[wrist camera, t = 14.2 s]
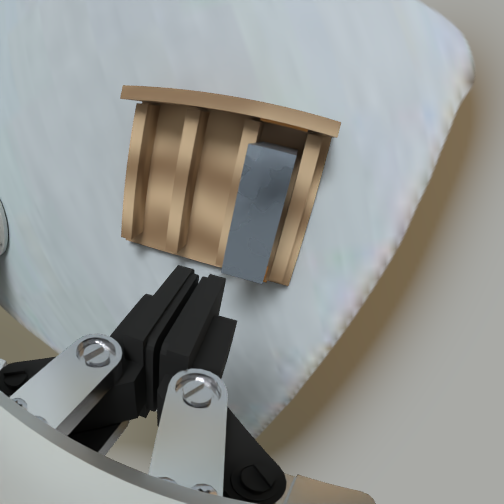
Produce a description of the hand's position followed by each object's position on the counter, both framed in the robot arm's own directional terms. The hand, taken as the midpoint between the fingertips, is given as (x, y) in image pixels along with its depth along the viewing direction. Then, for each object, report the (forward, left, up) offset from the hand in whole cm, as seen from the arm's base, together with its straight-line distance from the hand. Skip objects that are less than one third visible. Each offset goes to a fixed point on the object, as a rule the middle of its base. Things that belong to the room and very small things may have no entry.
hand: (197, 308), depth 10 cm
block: (+1, 0, -18) cm, 18 cm away
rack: (0, +4, -19) cm, 20 cm away
